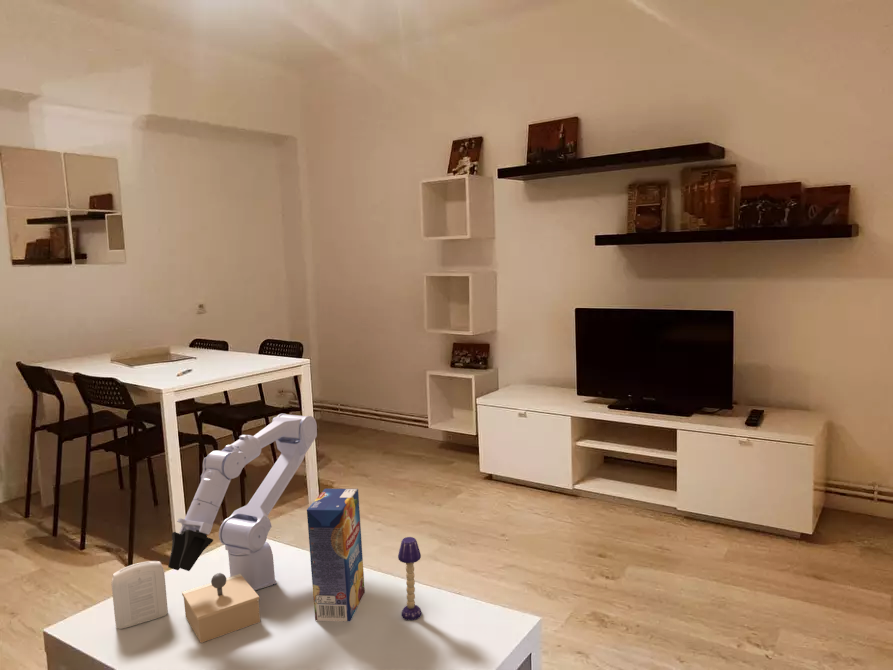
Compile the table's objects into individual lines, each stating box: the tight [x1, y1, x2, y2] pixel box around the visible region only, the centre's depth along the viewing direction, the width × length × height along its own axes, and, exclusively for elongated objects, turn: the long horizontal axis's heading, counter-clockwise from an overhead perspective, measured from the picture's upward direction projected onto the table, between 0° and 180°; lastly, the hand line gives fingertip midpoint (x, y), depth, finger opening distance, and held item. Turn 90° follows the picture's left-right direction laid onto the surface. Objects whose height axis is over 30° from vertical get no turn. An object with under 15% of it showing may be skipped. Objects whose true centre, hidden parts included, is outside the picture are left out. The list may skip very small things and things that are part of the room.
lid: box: [181, 572, 260, 620], centre depth 140 cm, size 12×12×5 cm
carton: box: [183, 598, 261, 644], centre depth 141 cm, size 12×12×5 cm
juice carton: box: [306, 488, 366, 623], centre depth 143 cm, size 12×8×24 cm, turn 172°
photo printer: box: [111, 560, 169, 630], centre depth 142 cm, size 10×4×12 cm, turn 123°
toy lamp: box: [397, 536, 422, 621], centre depth 138 cm, size 5×5×17 cm
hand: (178, 569), depth 137 cm, fingers open, 7 cm apart
